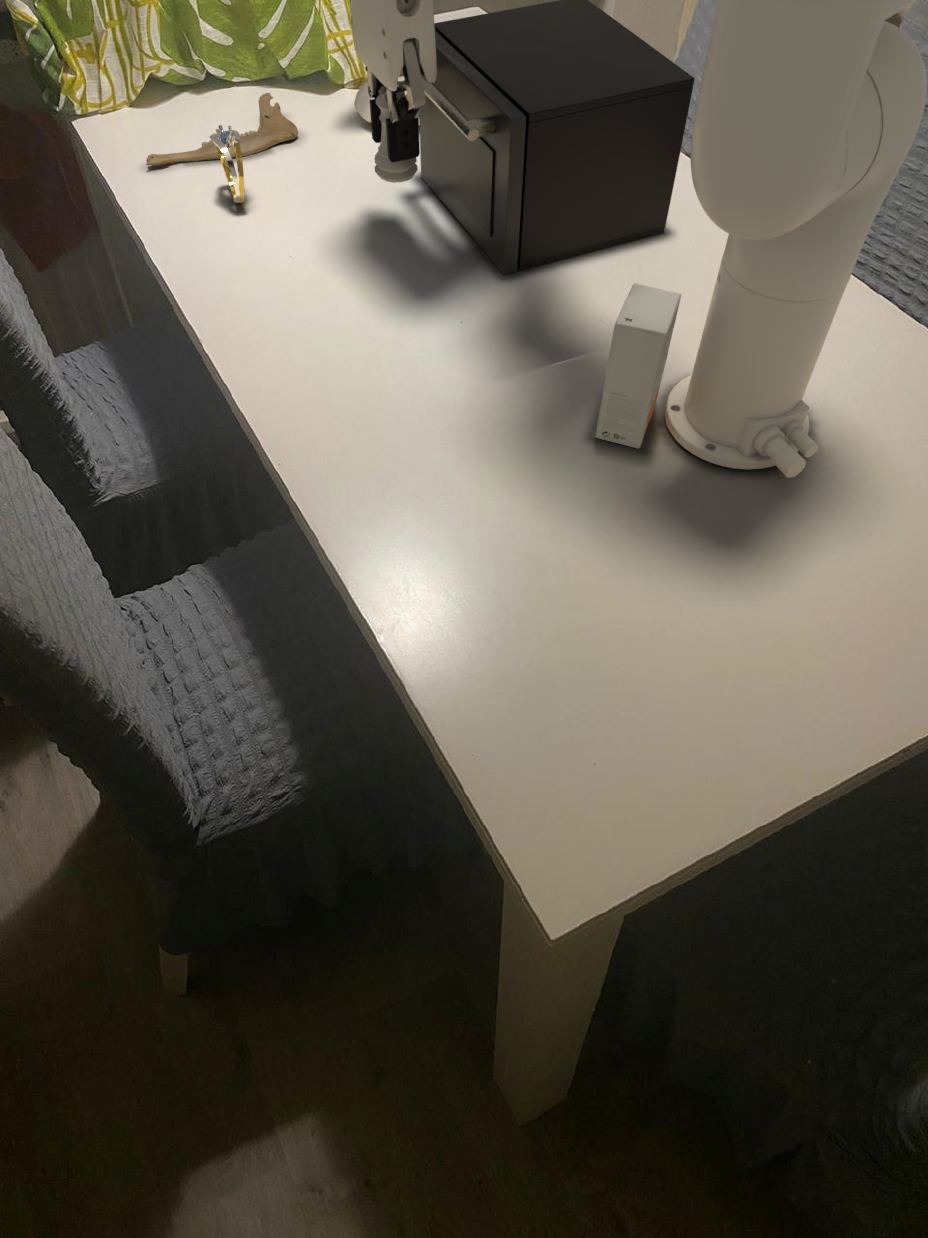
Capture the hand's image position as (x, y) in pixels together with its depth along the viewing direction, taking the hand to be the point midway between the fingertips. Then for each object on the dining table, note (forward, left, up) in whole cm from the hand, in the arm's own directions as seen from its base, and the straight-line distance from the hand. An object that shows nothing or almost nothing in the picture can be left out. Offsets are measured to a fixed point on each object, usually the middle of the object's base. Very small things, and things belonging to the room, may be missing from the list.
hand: (395, 146), depth 90 cm
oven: (0, -18, -10) cm, 21 cm away
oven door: (0, -6, -10) cm, 12 cm away
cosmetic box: (-36, -7, -10) cm, 38 cm away
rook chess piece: (0, 0, -3) cm, 3 cm away
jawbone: (+30, +12, -10) cm, 34 cm away
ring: (+15, +14, -10) cm, 23 cm away
